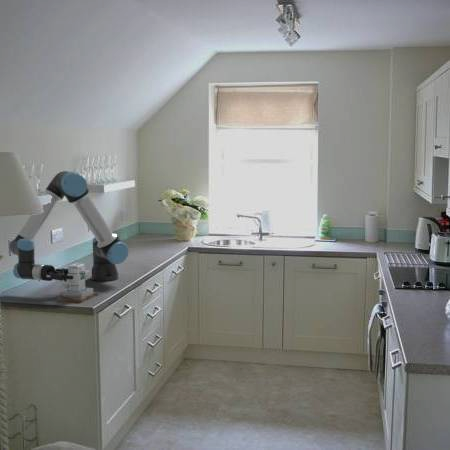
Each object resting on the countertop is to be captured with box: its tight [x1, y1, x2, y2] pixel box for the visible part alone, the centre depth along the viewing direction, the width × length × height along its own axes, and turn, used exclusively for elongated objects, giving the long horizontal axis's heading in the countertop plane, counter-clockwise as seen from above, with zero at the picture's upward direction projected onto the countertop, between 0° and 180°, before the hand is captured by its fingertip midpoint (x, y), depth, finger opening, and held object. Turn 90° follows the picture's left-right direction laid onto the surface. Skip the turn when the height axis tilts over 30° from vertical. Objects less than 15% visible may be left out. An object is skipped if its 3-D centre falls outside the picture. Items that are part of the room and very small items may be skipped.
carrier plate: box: [56, 291, 98, 304], centre depth 300 cm, size 16×12×2 cm
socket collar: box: [61, 287, 94, 298], centre depth 300 cm, size 10×10×2 cm
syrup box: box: [67, 263, 87, 292], centre depth 299 cm, size 6×6×14 cm
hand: (85, 275), depth 298 cm, fingers open, 9 cm apart
